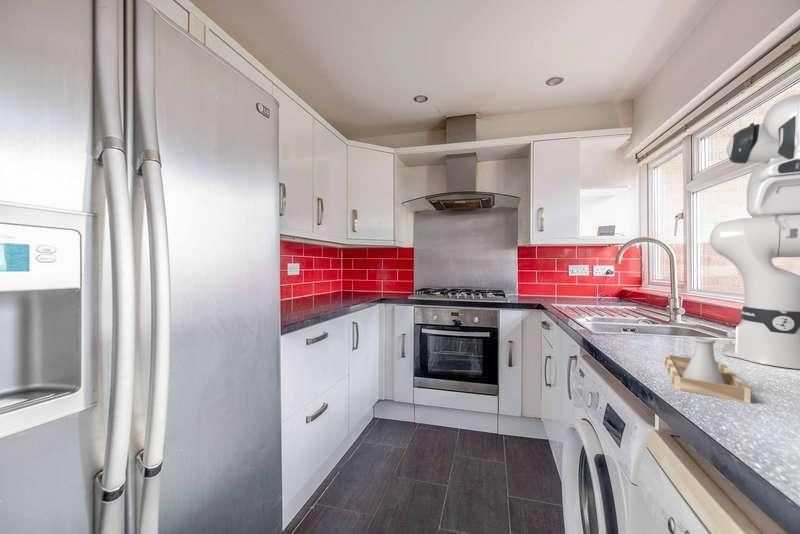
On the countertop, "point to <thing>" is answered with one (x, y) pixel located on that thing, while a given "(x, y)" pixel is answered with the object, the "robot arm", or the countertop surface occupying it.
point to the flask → (703, 362)
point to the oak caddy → (729, 390)
